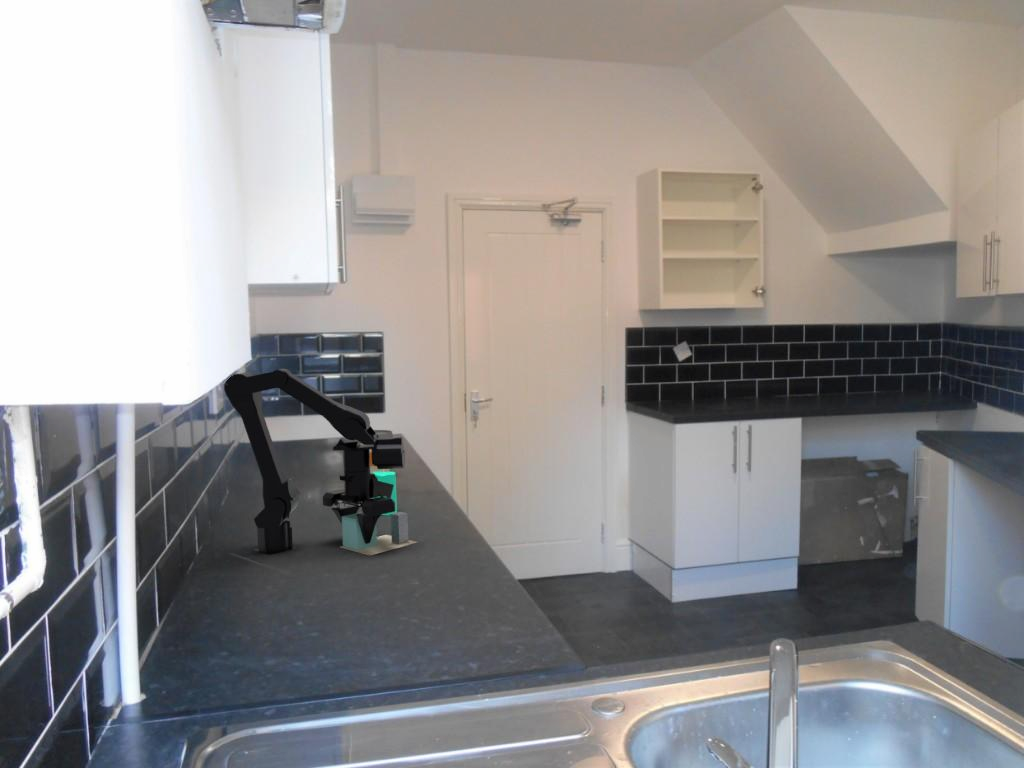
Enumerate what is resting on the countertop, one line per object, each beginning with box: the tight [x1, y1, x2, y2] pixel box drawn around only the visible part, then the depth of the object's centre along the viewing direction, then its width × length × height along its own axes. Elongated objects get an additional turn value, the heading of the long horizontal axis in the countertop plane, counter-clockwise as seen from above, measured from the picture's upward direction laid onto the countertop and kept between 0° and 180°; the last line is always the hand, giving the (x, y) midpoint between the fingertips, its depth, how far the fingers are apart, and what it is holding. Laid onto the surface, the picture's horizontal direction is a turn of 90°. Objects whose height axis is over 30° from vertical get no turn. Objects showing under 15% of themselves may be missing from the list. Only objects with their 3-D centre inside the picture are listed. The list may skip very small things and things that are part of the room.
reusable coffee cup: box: [353, 429, 394, 473], centre depth 259 cm, size 13×13×15 cm
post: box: [390, 511, 410, 545], centre depth 177 cm, size 3×3×7 cm
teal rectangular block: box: [341, 511, 378, 551], centre depth 175 cm, size 5×5×7 cm
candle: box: [373, 469, 398, 516], centre depth 209 cm, size 6×6×12 cm
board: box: [339, 534, 418, 556], centre depth 176 cm, size 13×11×1 cm
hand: (359, 541), depth 175 cm, fingers closed on teal rectangular block, 5 cm apart
